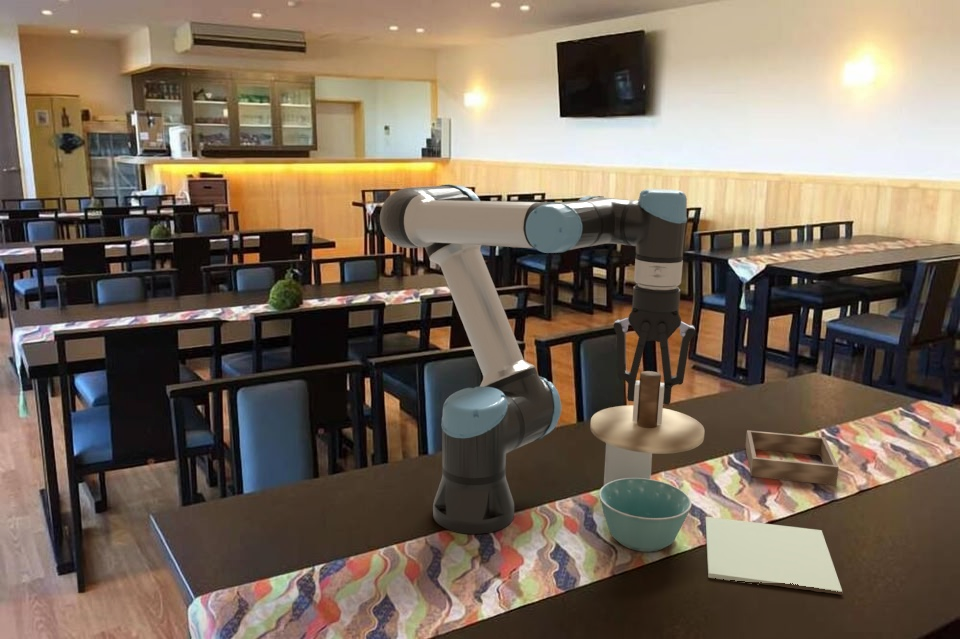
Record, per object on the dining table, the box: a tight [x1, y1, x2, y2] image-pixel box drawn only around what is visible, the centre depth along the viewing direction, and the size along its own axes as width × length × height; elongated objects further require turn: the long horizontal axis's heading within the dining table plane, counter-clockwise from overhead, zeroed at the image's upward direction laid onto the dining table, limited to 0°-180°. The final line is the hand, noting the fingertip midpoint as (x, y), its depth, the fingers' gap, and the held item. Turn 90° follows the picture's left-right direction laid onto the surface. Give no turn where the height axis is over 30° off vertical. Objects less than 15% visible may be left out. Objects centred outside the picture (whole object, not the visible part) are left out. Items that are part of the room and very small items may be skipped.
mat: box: [705, 516, 843, 593], centre depth 136 cm, size 20×20×1 cm
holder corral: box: [744, 429, 839, 486], centre depth 172 cm, size 17×17×4 cm
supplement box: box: [603, 443, 653, 486], centre depth 157 cm, size 9×9×15 cm
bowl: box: [598, 478, 692, 553], centre depth 140 cm, size 16×16×8 cm
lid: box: [589, 370, 705, 455], centre depth 135 cm, size 19×19×10 cm
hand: (647, 419), depth 136 cm, fingers closed on lid, 3 cm apart
